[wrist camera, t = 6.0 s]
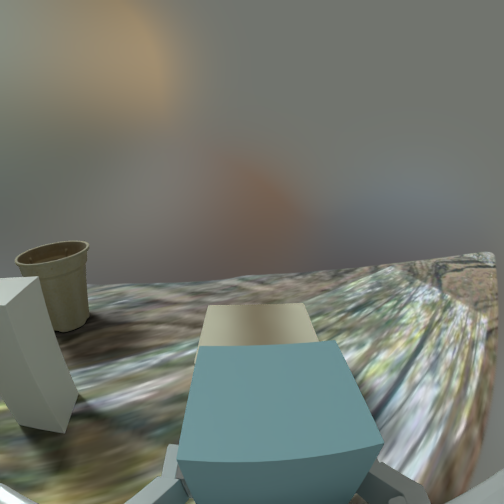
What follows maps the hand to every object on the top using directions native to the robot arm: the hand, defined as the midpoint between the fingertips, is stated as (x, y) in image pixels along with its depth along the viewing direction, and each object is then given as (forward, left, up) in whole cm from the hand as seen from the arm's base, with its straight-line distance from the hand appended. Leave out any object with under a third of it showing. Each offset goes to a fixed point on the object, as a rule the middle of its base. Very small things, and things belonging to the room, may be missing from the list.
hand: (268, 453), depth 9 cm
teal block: (0, -1, -6) cm, 6 cm away
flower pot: (-22, +19, -6) cm, 30 cm away
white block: (-16, +5, -6) cm, 18 cm away
